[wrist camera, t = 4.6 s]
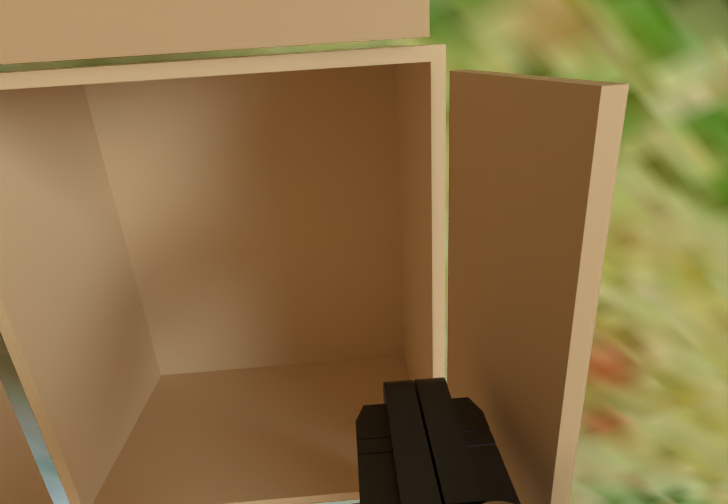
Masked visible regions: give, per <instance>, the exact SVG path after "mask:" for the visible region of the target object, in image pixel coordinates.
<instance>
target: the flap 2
mask: <svg viewBox="0 0 728 504" xmlns="http://www.w3.org/2000/svg"><path fill="white" fill-rule="evenodd" d="M628 88H629V84H625V83H614V82H602V81H591V80H579V79H568V78H556V77H545V76H533V75H522V74H510V73H499V72H487V71H476V70H453V71H450V112H449V239H448V367H447V386H448V389H449V392H450V395H451V398H462V397H469V398H470V399H471V400H472V401H473V402H474V403H475V404H476V405H477V406H478V407H479V408H480V409H481V410H482V411H483V413H484V415H485V418H486V420H487V423H488V425H489V427H490V432H492V435H493V437H494V440H495V442H496V446H497V447H498V450H499V452H500V454H501V457H502V459H503V462H504V464H505V467H506V469H507V472H508V474H509V477H510V479H511V481H512V484H513V486H514V489H515V491H516V494H517V496H518V499H519V501H520V503H521V504H569V501H570V494H571V487H572V480H573V473H574V466H575V459H576V452H577V445H578V438H579V431H580V424H581V417H582V410H583V403H584V396H585V389H586V382H587V375H588V368H589V361H590V354H591V347H592V340H593V333H594V326H595V319H596V312H597V305H598V298H599V291H600V284H601V277H602V270H603V263H604V256H605V249H606V242H607V235H608V228H609V221H610V214H611V207H612V200H613V193H614V186H615V179H616V172H617V165H618V158H619V151H620V144H621V137H622V130H623V123H624V116H625V109H626V102H627V95H628Z"/></svg>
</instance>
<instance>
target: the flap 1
mask: <svg viewBox="0 0 728 504" xmlns="http://www.w3.org/2000/svg"><path fill="white" fill-rule="evenodd" d="M0 504H53V502H52V499H51V497H50V495H49V492H48V490H47V488H46V485H45V483H44V481H43V478H42V476H41V474H40V471H39V469H38V467H37V464H36V462H35V459H34V457H33V455H32V452H31V450H30V448H29V445H28V443H27V441H26V438H25V436H24V434H23V431H22V429H21V426H20V424H19V422H18V419H17V417H16V415H15V412H14V410H13V408H12V405H11V403H10V401H9V398H8V396H7V393H6V391H5V389H4V386H3V384H2V382H1V379H0Z"/></svg>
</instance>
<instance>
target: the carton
mask: <svg viewBox="0 0 728 504" xmlns="http://www.w3.org/2000/svg"><path fill="white" fill-rule="evenodd" d="M419 37H430V21H429V0H0V65H1V64H16V63H32V62H47V61H63V60H78V59H94V58H109V57H125V56H140V55H156V54H171V53H187V52H202V51H218V50H233V49H249V48H264V47H280V46H295V45H311V44H326V43H342V42H357V41H373V40H388V39H404V38H419ZM445 144H446V44H436V45H410V46H392V47H376V48H361V49H345V50H330V51H314V52H299V53H284V54H268V55H253V56H237V57H222V58H207V59H191V60H176V61H160V62H145V63H130V64H114V65H99V66H83V67H69V68H55V69H41V70H27V71H13V72H0V332H1V335H2V337H3V340H4V342H5V344H6V347H7V349H8V352H9V354H10V357H11V359H12V362H13V364H14V367H15V369H16V372H17V374H18V377H19V379H20V381H21V384H22V386H23V389H24V391H25V394H26V396H27V399H28V401H29V404H30V406H31V409H32V411H33V413H34V416H35V418H36V421H37V423H38V426H39V428H40V431H41V433H42V436H43V438H44V441H45V443H46V446H47V448H48V450H49V453H50V455H51V458H52V460H53V463H54V465H55V468H56V470H57V473H58V475H59V478H60V480H61V482H62V485H63V487H64V490H65V492H66V495H67V497H68V500H69V502H70V504H312V503H323V502H334V501H345V500H357V499H360V496H359V477H358V457H357V439H356V419H357V417H358V415H359V413H360V411H361V409H362V407H363V405H373V404H384V400H383V382H389V381H402V380H413V383H414V379H427V378H440V377H444V348H445ZM354 504H360V503H354Z"/></svg>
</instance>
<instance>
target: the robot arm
mask: <svg viewBox="0 0 728 504" xmlns="http://www.w3.org/2000/svg"><path fill="white" fill-rule="evenodd" d="M383 400H384V404H373V405H363V407H362V409H361V411H360V413H359V415H358V417H357V419H356V439H357V457H358V477H359V496H360V504H521V503H520V501H519V499H518V496H517V494H516V491H515V489H514V486H513V484H512V481H511V479H510V477H509V474H508V472H507V469H506V467H505V464H504V462H503V459H502V457H501V454H500V452H499V450H498V447H497V446H496V442H495V440H494V437H493V435H492V432H490V427H489V425H488V423H487V420H486V418H485V415H484V413H483V411H482V410H481V409H480V408H479V407H478V406H477V405H476V404H475V403H474V402H473V401H472V400H471V399H470V398H469V397H462V398H451V395H450V392H449V389H448V386H447V383H446V380H445V378H444V377H440V378H427V379H414V383H413V380H402V381H389V382H383Z"/></svg>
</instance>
